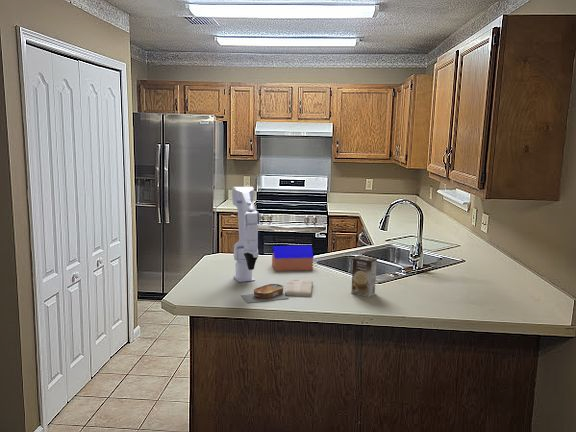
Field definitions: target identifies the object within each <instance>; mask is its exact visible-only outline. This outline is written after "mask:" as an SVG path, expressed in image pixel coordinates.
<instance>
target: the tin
mask: <svg viewBox="0 0 576 432" xmlns="http://www.w3.org/2000/svg"><path fill="white" fill-rule="evenodd" d="M282 293H283V294H284V285H281V284H278V283H269V284H265V285H263V286H259V287H256V288H254V289H253V294H254V296H255V297H257V298H261V299H268V298H272V297H274V296H277V295H280V294H282Z"/></svg>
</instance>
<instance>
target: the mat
mask: <svg viewBox="0 0 576 432" xmlns="http://www.w3.org/2000/svg"><path fill="white" fill-rule="evenodd" d="M240 296H241V297H242V299H244V302H246V303H247V304H254V303H261V302H270V301H271V302H272V301H273V302H274V301H281V300H289V296H286V295H285V293H284V292H283V293H282V294H280V295H277V296H274V297H272V298H268V299H261V298H257V297H255V296H254V293H248V294H241V295H240Z"/></svg>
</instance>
